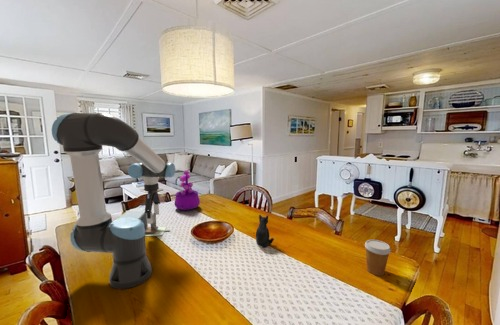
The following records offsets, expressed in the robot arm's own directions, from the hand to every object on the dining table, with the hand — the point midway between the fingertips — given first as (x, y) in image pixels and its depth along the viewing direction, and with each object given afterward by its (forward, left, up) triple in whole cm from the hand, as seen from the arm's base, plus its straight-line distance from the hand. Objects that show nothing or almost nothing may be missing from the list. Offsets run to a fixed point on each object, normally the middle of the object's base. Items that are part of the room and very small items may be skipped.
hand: (153, 218), depth 133 cm
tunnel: (+2, +7, -8) cm, 11 cm away
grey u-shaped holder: (+2, +6, -7) cm, 10 cm away
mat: (-1, -1, -8) cm, 8 cm away
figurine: (-40, -52, -8) cm, 66 cm away
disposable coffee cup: (-80, -84, -8) cm, 116 cm away
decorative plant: (+35, -25, -8) cm, 44 cm away
